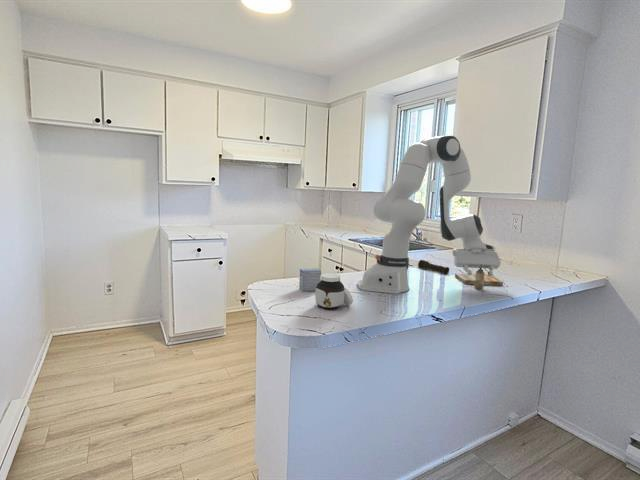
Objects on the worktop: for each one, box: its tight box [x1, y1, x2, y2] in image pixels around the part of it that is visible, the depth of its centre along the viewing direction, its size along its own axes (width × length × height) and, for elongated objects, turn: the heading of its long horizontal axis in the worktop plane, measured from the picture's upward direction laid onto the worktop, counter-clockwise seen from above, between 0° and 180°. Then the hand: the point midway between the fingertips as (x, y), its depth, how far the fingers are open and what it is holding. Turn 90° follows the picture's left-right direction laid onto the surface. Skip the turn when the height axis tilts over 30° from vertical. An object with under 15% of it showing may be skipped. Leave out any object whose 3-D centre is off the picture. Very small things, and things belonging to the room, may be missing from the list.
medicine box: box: [298, 267, 322, 292], centre depth 150 cm, size 8×4×9 cm, turn 111°
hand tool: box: [417, 259, 450, 275], centre depth 196 cm, size 19×4×5 cm, turn 33°
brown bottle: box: [473, 264, 486, 290], centre depth 163 cm, size 4×4×11 cm
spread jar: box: [314, 272, 354, 311], centre depth 131 cm, size 12×11×12 cm
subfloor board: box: [454, 273, 504, 287], centre depth 177 cm, size 18×13×2 cm
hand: (480, 274), depth 163 cm, fingers open, 8 cm apart
